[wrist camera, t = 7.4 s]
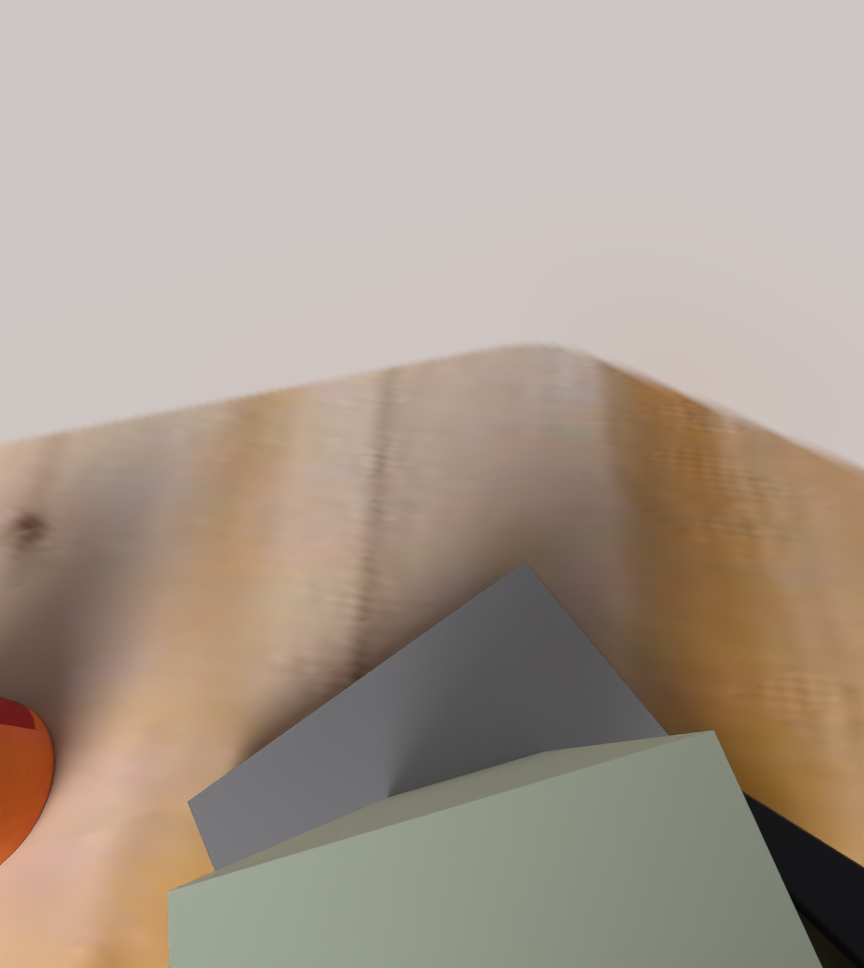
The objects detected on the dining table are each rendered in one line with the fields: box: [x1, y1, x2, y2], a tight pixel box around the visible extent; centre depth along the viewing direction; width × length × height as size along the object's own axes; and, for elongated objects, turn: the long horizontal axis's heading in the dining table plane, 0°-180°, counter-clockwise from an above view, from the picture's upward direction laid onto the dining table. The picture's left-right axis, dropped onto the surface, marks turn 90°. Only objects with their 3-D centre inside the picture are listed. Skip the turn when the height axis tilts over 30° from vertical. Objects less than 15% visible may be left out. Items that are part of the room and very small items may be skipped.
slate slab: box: [188, 561, 669, 871], centre depth 15 cm, size 12×12×2 cm
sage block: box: [168, 730, 822, 968], centre depth 9 cm, size 4×4×12 cm
